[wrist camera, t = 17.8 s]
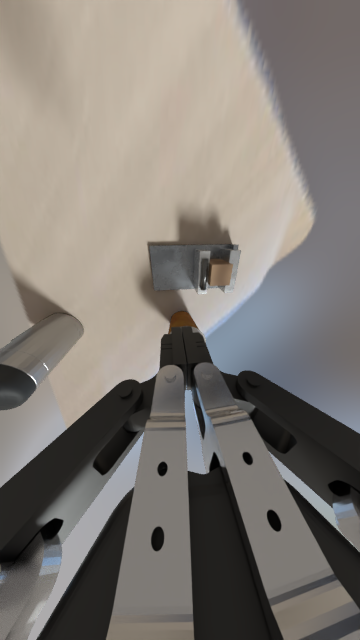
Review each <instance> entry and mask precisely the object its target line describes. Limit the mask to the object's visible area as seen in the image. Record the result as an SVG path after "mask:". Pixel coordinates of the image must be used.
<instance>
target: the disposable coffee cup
mask: <svg viewBox="0 0 360 640" xmlns="http://www.w3.org/2000/svg"><path fill="white" fill-rule="evenodd" d="M182 326H191V327H192V330H193V333H194V332H199V333H200V334H201V335H202V336H203V338H204V340H205V336H204V334H203V333H202V332H201V331H200V330H199V329H198V327H197V326H196V324H195V322H194V321H193V319H192V317H191V316H190V314H189V313H187V312H184V311H179V312H176V313H175V314H174V315H173V316H172V318H171V322H170V327H169V333H168V334H171V327H182ZM205 343H206V340H205Z"/></svg>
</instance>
